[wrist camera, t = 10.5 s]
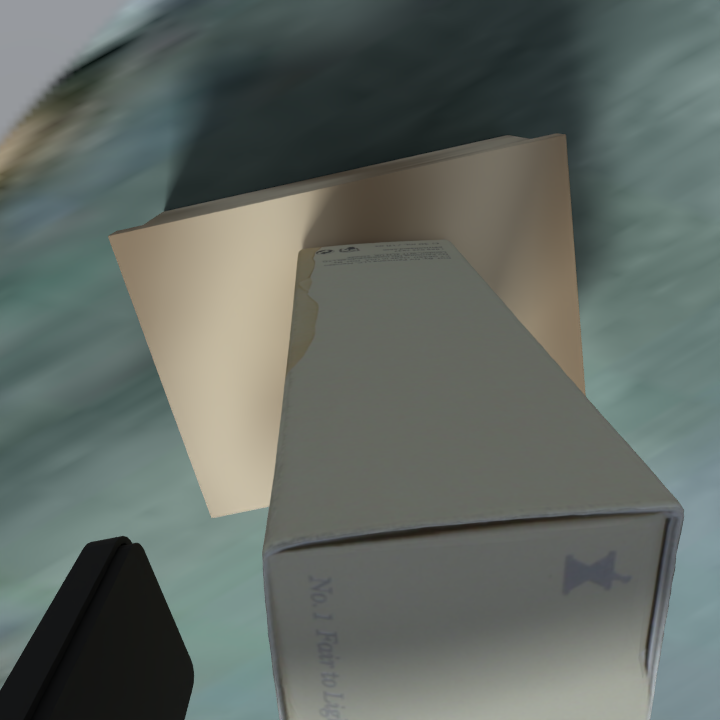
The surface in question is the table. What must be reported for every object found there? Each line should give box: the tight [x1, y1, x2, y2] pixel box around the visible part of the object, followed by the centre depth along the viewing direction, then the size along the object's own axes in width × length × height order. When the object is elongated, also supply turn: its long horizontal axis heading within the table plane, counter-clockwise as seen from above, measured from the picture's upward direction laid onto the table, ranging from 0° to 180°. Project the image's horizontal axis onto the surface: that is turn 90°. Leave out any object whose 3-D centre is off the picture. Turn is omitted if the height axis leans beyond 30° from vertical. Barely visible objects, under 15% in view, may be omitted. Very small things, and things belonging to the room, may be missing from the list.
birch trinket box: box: [108, 133, 586, 518], centre depth 21 cm, size 12×9×5 cm
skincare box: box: [262, 239, 684, 720], centre depth 13 cm, size 6×4×12 cm
